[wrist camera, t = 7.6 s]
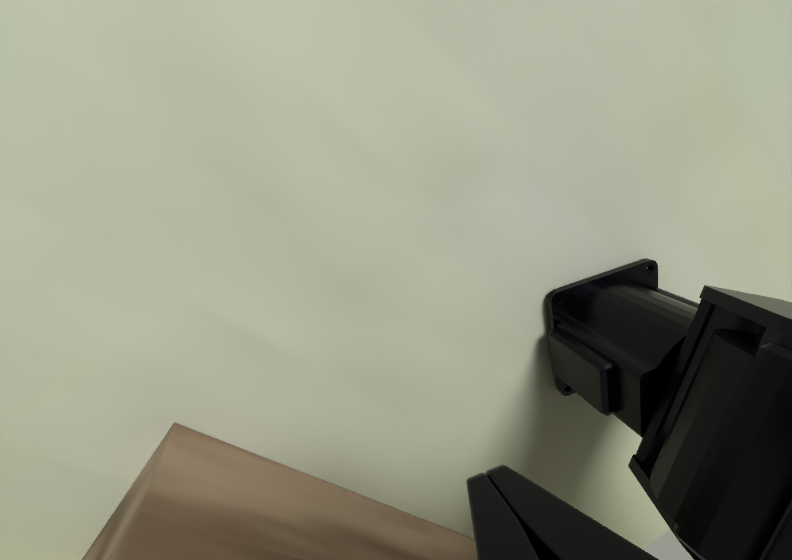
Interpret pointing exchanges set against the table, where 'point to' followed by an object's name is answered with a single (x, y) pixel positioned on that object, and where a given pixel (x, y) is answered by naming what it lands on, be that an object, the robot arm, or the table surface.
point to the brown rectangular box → (257, 513)
